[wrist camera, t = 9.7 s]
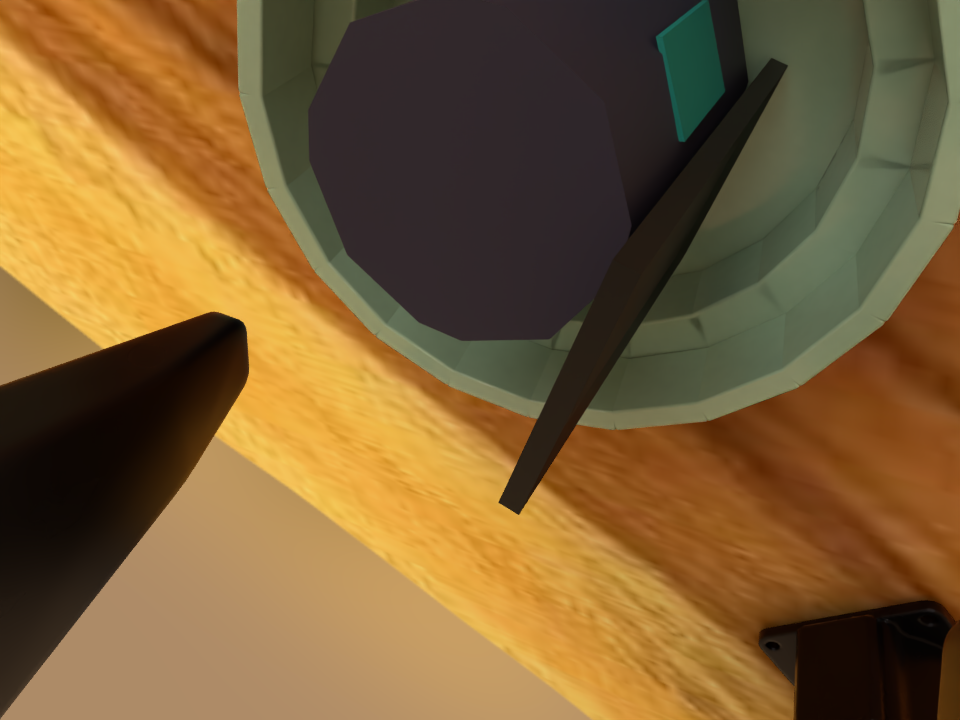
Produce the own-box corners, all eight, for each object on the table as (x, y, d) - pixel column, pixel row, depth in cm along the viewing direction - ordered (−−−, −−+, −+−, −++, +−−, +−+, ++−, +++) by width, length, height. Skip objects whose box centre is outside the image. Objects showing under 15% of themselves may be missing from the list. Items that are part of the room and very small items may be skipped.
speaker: (873, 103, 17) (812, 375, 9) (680, 257, 21) (531, 534, 13) (622, -158, 16) (340, -91, 9) (474, 53, 20) (193, 223, 13)
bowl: (1072, 144, 17) (1142, 261, 13) (564, 382, 25) (519, 492, 22) (704, -559, 12) (652, -682, 9) (248, 14, 21) (126, 72, 17)
